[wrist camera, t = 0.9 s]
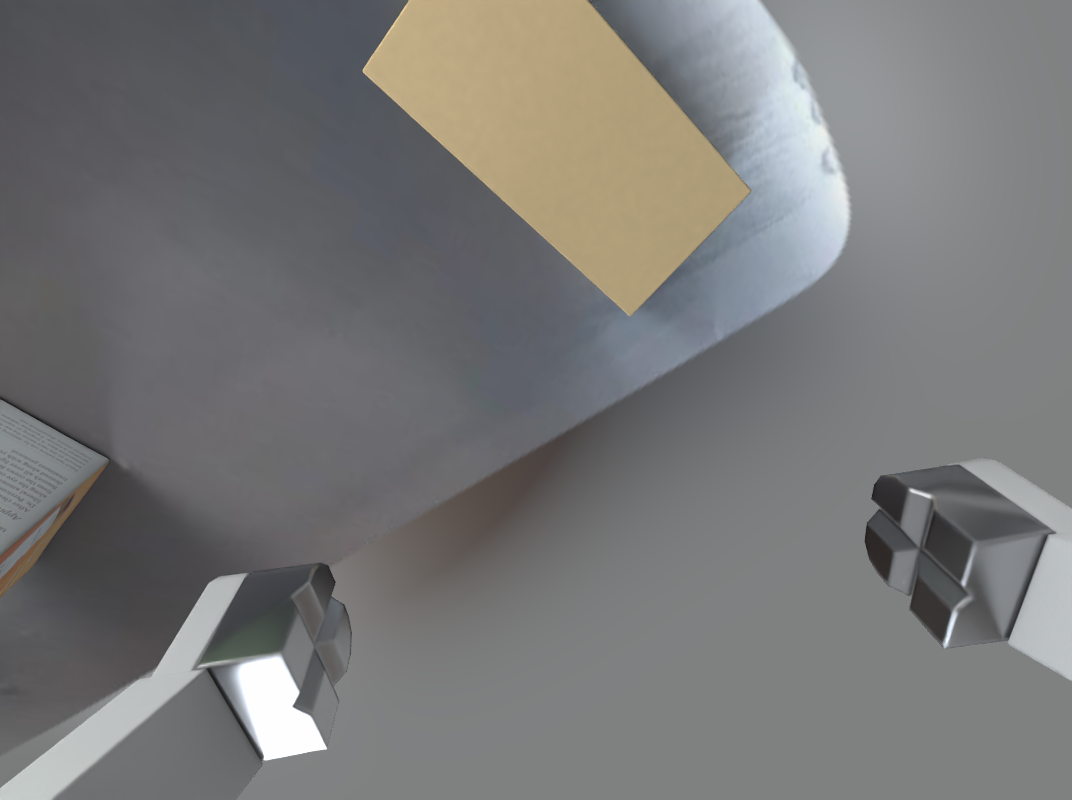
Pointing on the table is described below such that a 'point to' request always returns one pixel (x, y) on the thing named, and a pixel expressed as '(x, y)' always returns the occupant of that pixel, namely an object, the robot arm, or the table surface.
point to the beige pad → (563, 132)
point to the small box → (37, 488)
